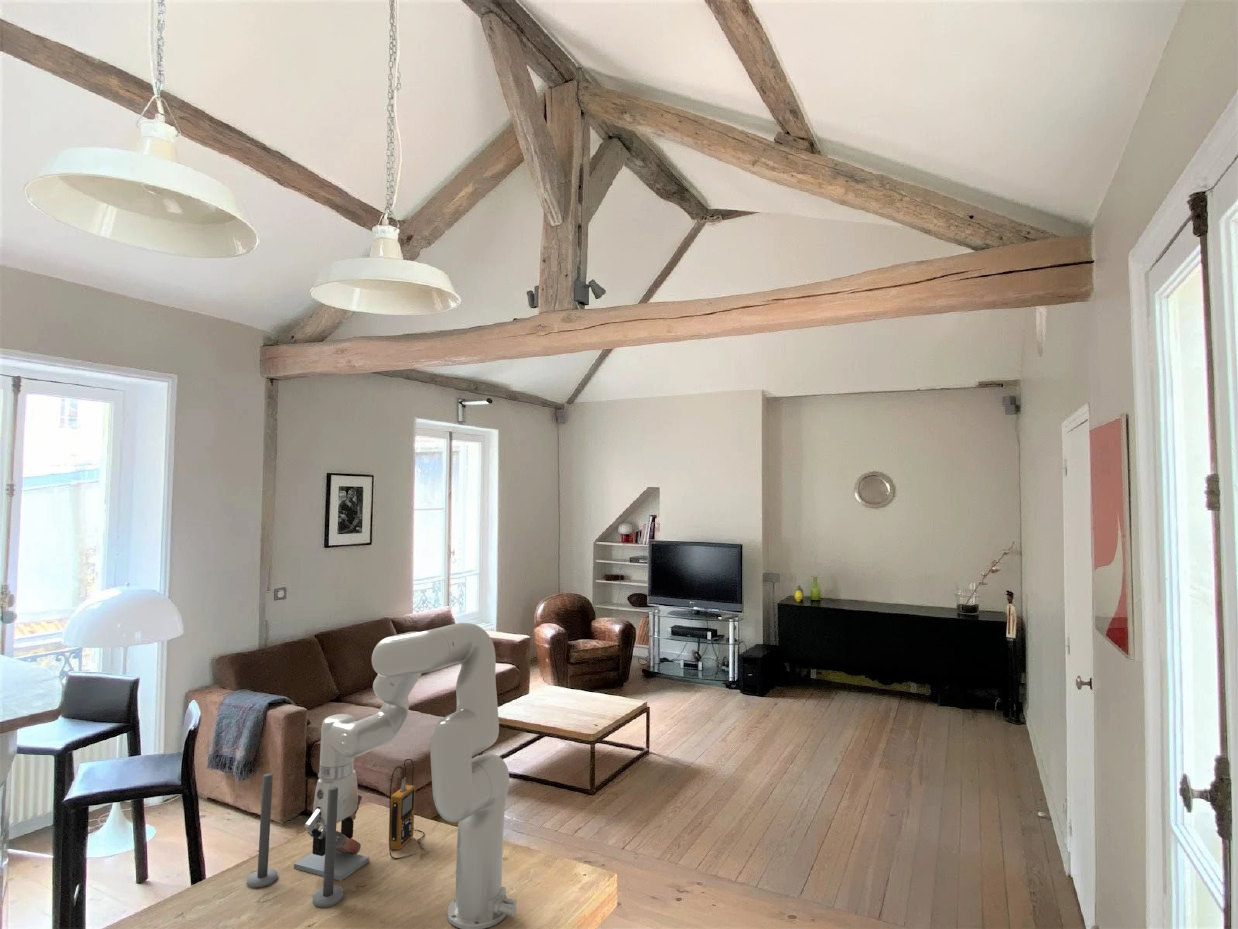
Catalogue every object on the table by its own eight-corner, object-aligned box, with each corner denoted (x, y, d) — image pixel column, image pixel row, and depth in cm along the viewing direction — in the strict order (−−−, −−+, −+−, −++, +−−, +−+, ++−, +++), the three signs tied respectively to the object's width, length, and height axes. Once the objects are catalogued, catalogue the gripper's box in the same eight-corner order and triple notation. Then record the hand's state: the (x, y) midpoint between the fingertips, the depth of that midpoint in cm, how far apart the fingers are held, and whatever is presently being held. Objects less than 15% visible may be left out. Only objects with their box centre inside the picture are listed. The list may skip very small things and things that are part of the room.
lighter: (329, 849, 160) (306, 839, 153) (336, 834, 162) (314, 823, 155) (356, 857, 157) (334, 847, 150) (363, 842, 159) (342, 830, 152)
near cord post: (349, 894, 143) (354, 785, 145) (328, 910, 138) (333, 796, 139) (327, 888, 145) (332, 781, 147) (306, 903, 140) (311, 792, 142)
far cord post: (283, 876, 150) (288, 772, 152) (260, 890, 144) (266, 782, 146) (263, 871, 152) (269, 768, 154) (240, 884, 146) (246, 778, 148)
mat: (369, 861, 157) (369, 857, 157) (341, 881, 149) (341, 876, 149) (323, 850, 162) (323, 846, 162) (293, 868, 153) (294, 863, 154)
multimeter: (418, 863, 157) (421, 776, 158) (380, 858, 159) (383, 772, 160) (446, 834, 171) (449, 755, 173) (411, 829, 173) (414, 751, 175)
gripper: (320, 786, 147) (316, 867, 146) (374, 759, 164) (371, 832, 162) (295, 780, 150) (291, 860, 149) (350, 755, 166) (347, 826, 165)
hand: (333, 845), depth 155 cm, fingers open, 8 cm apart
